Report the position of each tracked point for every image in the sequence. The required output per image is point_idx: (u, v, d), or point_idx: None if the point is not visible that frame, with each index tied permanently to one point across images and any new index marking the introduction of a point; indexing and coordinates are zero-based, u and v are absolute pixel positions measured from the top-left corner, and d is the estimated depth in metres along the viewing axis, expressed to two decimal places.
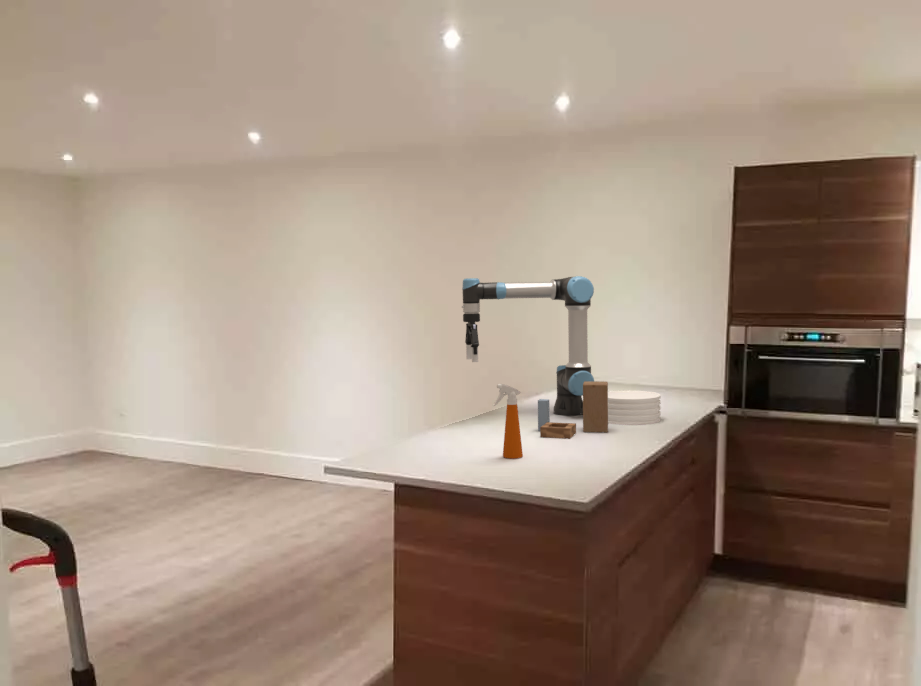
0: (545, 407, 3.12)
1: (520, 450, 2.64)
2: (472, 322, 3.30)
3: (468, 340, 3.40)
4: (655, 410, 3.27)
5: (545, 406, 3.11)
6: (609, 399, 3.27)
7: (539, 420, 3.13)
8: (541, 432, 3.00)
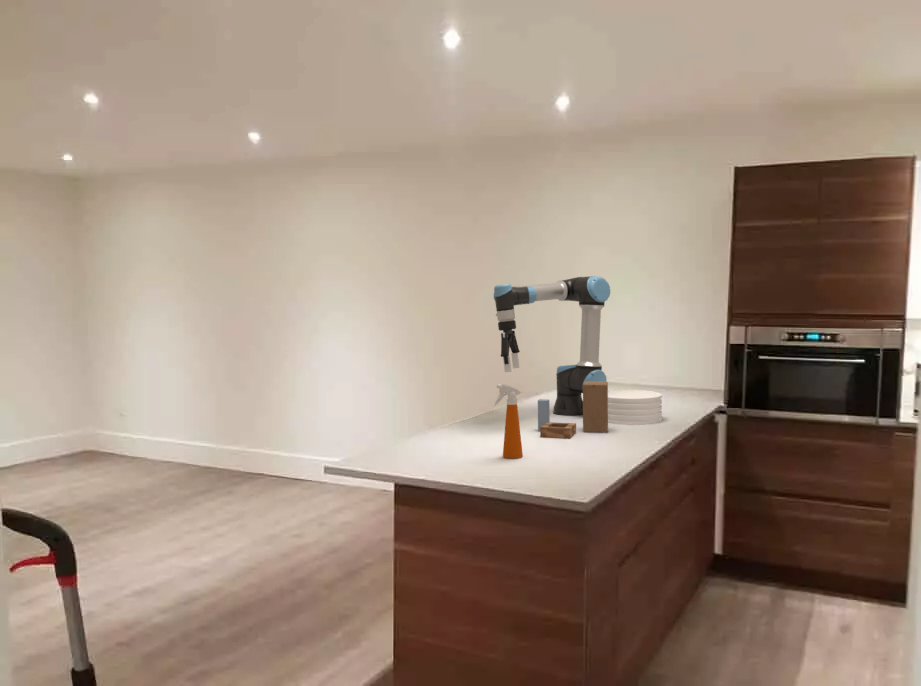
0: (545, 407, 3.12)
1: (520, 450, 2.64)
2: (504, 330, 3.16)
3: (512, 348, 3.25)
4: (656, 410, 3.27)
5: (545, 406, 3.11)
6: (610, 399, 3.28)
7: (539, 420, 3.13)
8: (541, 432, 3.00)
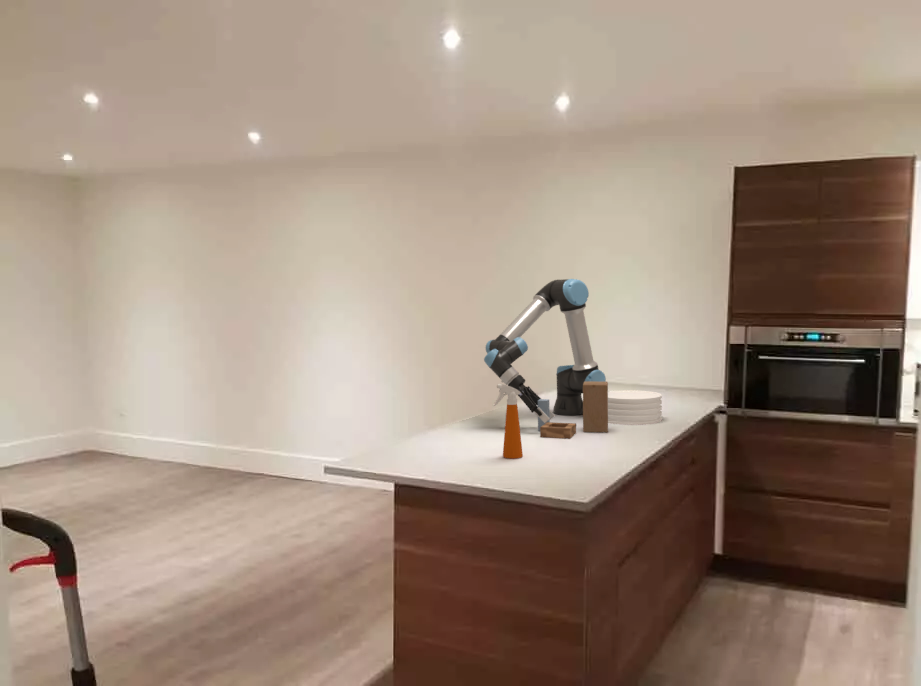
0: (545, 407, 3.12)
1: (520, 450, 2.64)
2: (516, 388, 3.13)
3: (536, 403, 3.18)
4: (656, 410, 3.27)
5: (545, 406, 3.11)
6: (610, 399, 3.28)
7: (539, 420, 3.13)
8: (541, 432, 3.00)
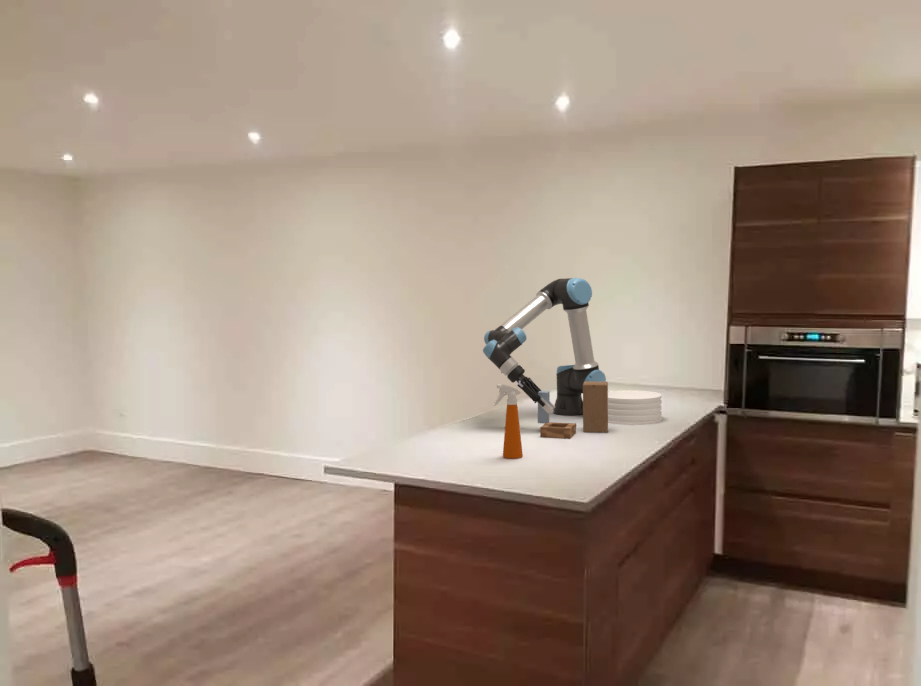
0: (545, 399, 3.11)
1: (520, 450, 2.64)
2: (516, 378, 3.13)
3: None
4: (656, 410, 3.27)
5: (545, 398, 3.11)
6: (610, 399, 3.28)
7: (539, 412, 3.12)
8: (541, 432, 3.00)
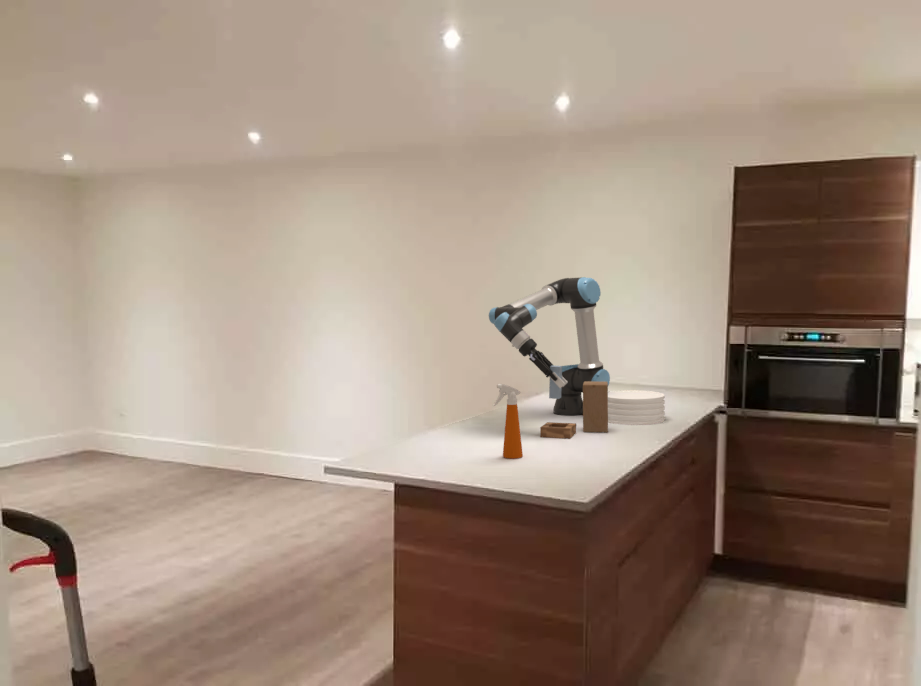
0: (557, 373, 3.01)
1: (520, 450, 2.64)
2: (528, 352, 3.03)
3: None
4: (659, 410, 3.27)
5: (557, 372, 3.01)
6: (613, 399, 3.27)
7: (551, 387, 3.02)
8: (541, 432, 3.00)
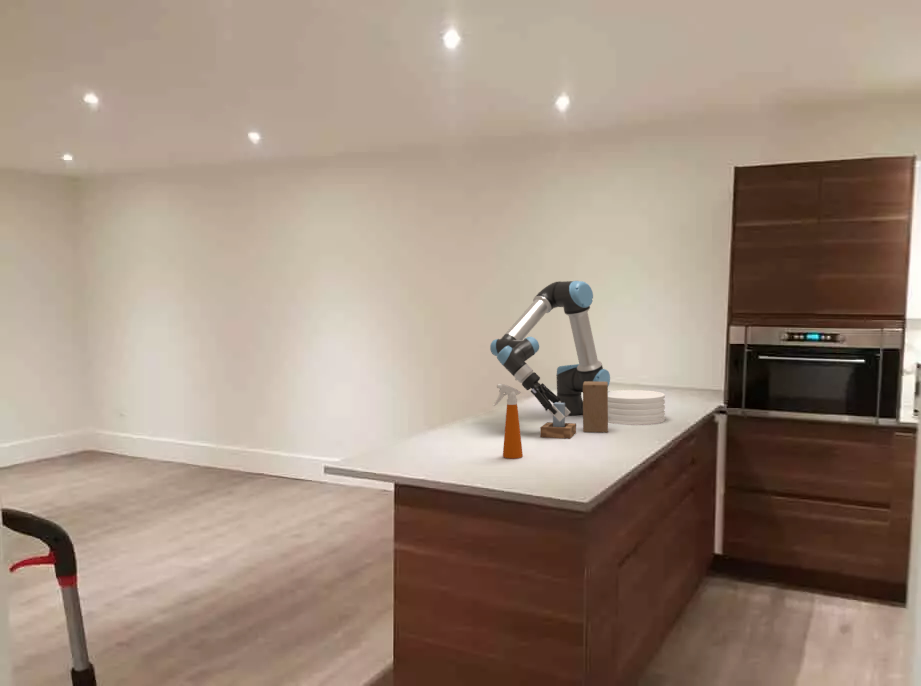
0: (561, 411, 3.01)
1: (520, 450, 2.64)
2: (531, 386, 3.03)
3: (551, 400, 3.09)
4: (659, 410, 3.27)
5: (561, 410, 3.01)
6: (613, 399, 3.27)
7: (554, 424, 3.02)
8: (541, 432, 3.00)
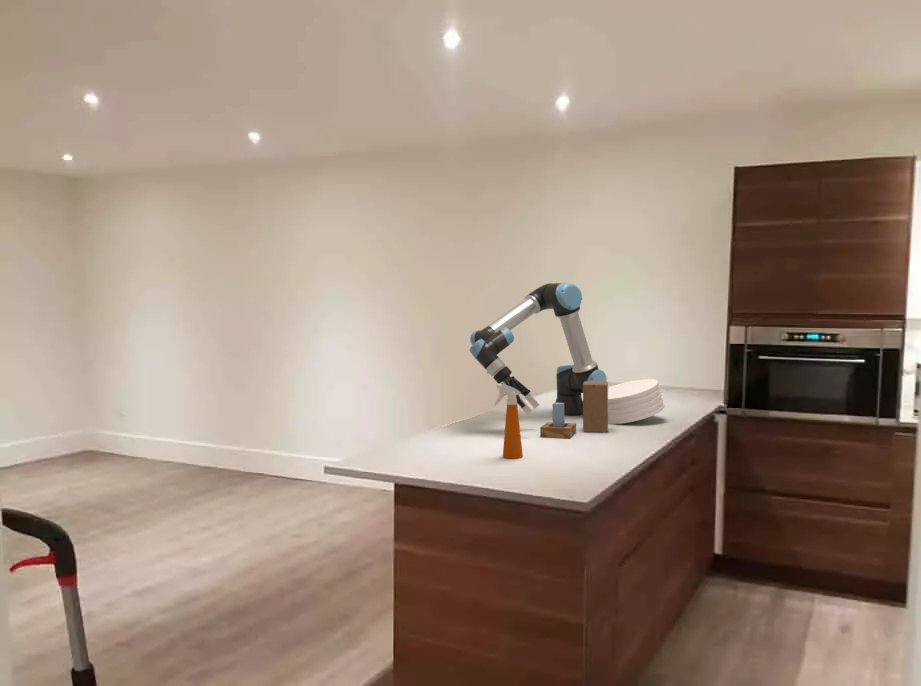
0: (560, 411, 3.01)
1: (520, 450, 2.64)
2: (502, 380, 3.07)
3: (521, 392, 3.15)
4: (655, 400, 3.23)
5: (560, 410, 3.01)
6: None
7: (554, 424, 3.03)
8: (541, 432, 3.00)
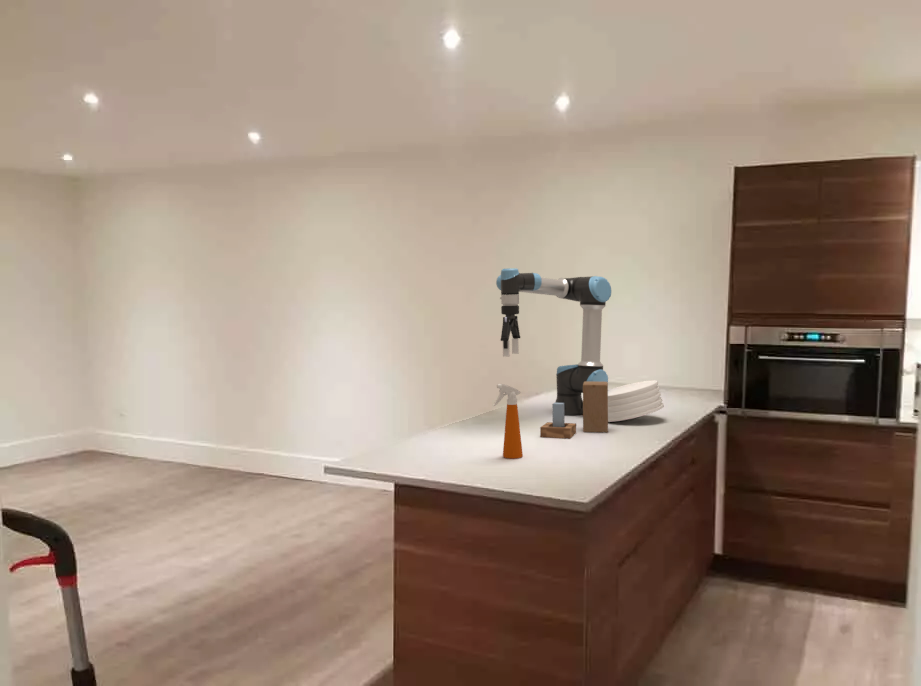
0: (560, 411, 3.01)
1: (520, 450, 2.64)
2: (507, 314, 3.13)
3: (513, 333, 3.23)
4: (657, 396, 3.26)
5: (560, 410, 3.01)
6: (610, 397, 3.25)
7: (554, 424, 3.03)
8: (541, 432, 3.00)
